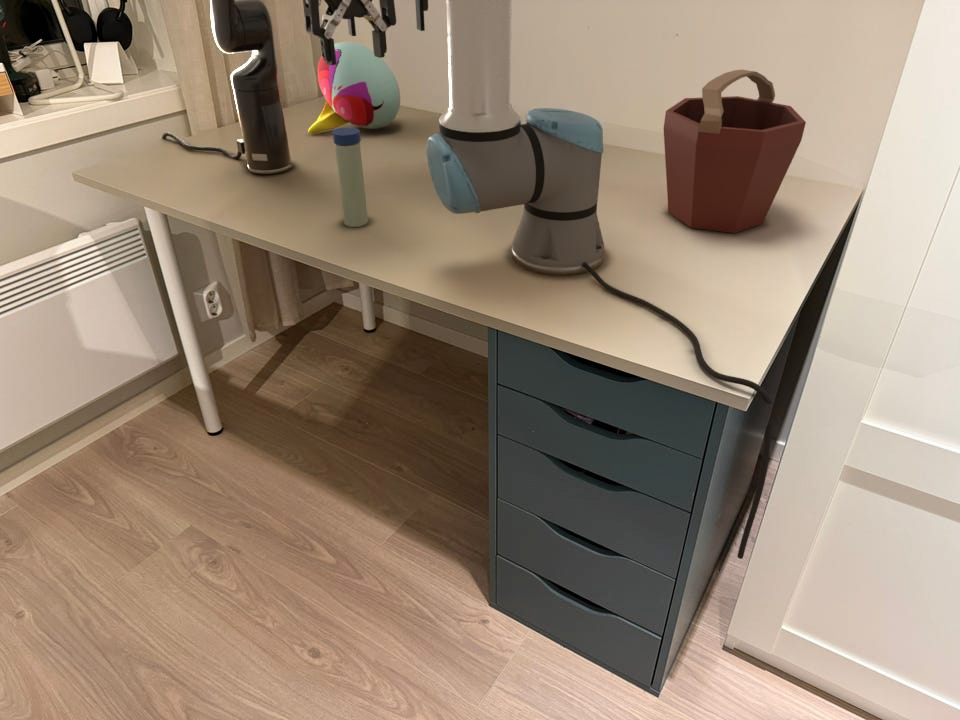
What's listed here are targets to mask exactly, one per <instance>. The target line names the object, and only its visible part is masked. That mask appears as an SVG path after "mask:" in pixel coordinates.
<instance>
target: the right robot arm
mask: <svg viewBox="0 0 960 720" xmlns="http://www.w3.org/2000/svg"><path fill="white" fill-rule="evenodd" d="M414 2H415V22H416V30H418V31H420V32H425V31H426V29H425V27H426V26H425V12H428V10H429V0H414ZM445 5H446V6H445V7H446V37H447V71H448V73H447V74H448V99H449V100H448V101H449V102H448V103H449V104H448V107H447V108H446V110H445V111H444V112H443V113H441V115H440V117H439V119H438V121H439V123H438V124H439V126H438V127H439V133H433V134H432V135H430V136H429V137H428V138H427V141H426V144H427V145H426V159H427V166H428V170H429V174H430V177H431V181H432V184H433V187H434V189H435V192H436V195H437V196H438V199H439V200H440V202H441V204H442V205H443V206H444V207H445V208H446V210H447V211H448V212H449V213H453V214H456V215H462V214H471V213H474V214H480V213H482V212H487V211H493V210H499V209H504V208H505V209H506V208H509V207H515V206H520V205H523V212H522V215H521V218H520V220H519V224H518V226H517V229H516V232H515V234H514V237H513V240H512V245H511V257H512V259H513V261H514V262H515V263H516V264H517V265H519V267H521V268H524V269H526V270H528V271H530V272H532V273H533V272H534V273H537V274H541V275H547V276H558V277H559V276H560V277H561V276H573V275H574V276H575V275H580V274H584V273H589V274H590V275H591V276H592V277H593V278H594V279H595V280H596V281H597V283H598V284H599V285H600V286H602V288H604V289H605V290H607V291H609V292H610V293H612V294H614V295H616V296H618V297H621V298H623V299H626V300H628V301H632V302H634V303H636V304H639V305H640V306H641V305H642V306H643V307H645V308H647V309H649V310H651V311H653V312H655V313H656V314H658V315H659V316H662V317H663V318H665V319H667V320H668V321H670V322H671V323H673V324H674V325H676V326H677V327H678V328H679V329H680V330H682V332H684V333H685V334H686V336H687V337H689V339H690V341H691V342H692V345H693V347H694V352H695V357H696V360H697V362H698V365H699V366H700V368H702V370H704V372H706V373H707V374H708V375H709V376H711V377H712V378H714V379H717V380H719V381H722V382H725V383H731V384H737V385H740V386H744V387H748V388H749V389H752V390H754V391H755V392H757V393H758V394H759V396H761V398H762V399H763V401H764V402H765V403H766V404H768V405H772V404H774V403H773V400H772V398H771V396H770V395H769V393H768V392H767V391H766V390H765V389H764V388H763V387H762V386H761V385H759V383H756V382H754V381H752V380H749V379H746V378H743V377H742V378H741V377H737V376H732V375H727V374H723V373H720V372H719V371H716V370H714V369H713V368H712V367H711V366H710V365H708V363H707V361H706V360H705V358H704V355H703V353H702V348H701V344H700V341H699V339H698V338H697V336H696V334H695V333H694V332H693V331H692V330H691V329H690V327H688V326H687V325H685V324H684V323H683V322H682V321H681V320H679V319H678V318H676V317H675V316H673V315H671V314H670V313H668V312H667V311H666V310H663V309H662V308H660V307H658V306H656V305H654V304H653V303H651V302H649V301H647V300H645V299H642V298H640V297H637V296H636V295H632V294H629V293H627V292H624V291H621V290H619V289H617V288H615V287H613V286H612V285H610V284H608V282H606V281H604V279H603V278H602V277H601V276H600V275H599V274H598V273H597V271H596V270H595V269H596V268H598V267H599V266H600V265H601V264H602V263H603V261H604V258H605V242H604V239H603V233H602V230H601V226H600V222H599V218H598V213H597V212H598V199H599V188H600V179H601V178H600V177H601V167H602V159H603V156H602V155H603V154H604V129H603V126H602V124H601V123H600V121H598V119H596V118H595V117H592V116H590V115H589V114H585V113H582V112H578V111H574V110H568V109H563V108H562V109H561V108H553V107H552V108H551V107H548V108H547V107H538V108H534V109H531V110H529V111H528V112H527V113H526V115H525V118H524V119H525V123H523V124H522V123H521V115H519V113H517V112H516V111H515V109H514V108H513V106H512V104H511V82H512V81H511V80H512V79H511V77H512V75H511V73H512V72H511V71H512V17H513V16H512V15H513V14H512V13H513V11H512V10H513V9H512V7H513V0H445ZM346 20H347V28H348V29H347V30H348V35H350V36H351V37H357V31H356V20H355V17H353V18H351V19H346ZM510 104H511V105H510ZM511 106H512V107H511ZM773 428H774V421H773V422H771V423H769V424H767V425H765V429H764V437H763V438H764V439H763V448H762V456H761V465H760V469H759V476H758V481H757V484H756V489H755V492H754V497H753V501H752V503H751V507H750V510H749V513H748V517H747V520H746V523H745V527H744V530H743V533H742V537H741V540H740V543H739V548H738V552H737V555H736V556H737V559H739V560H742V559H743V558H744V555H745V552H746V548H747V544H748V541H749V537H750V534H751V531H752V527H753V524H754V521H755V518H756V516H757V515H756V514H757V511H758V509H759V505H760V502H761V499H762V495H763V491H764V486H765V483H766V479H767V478H766V477H767V471H768V468H769V467H768V466H769V459H770V454H771V453H770V452H771V445H772V444H771V443H772V434H773Z"/></svg>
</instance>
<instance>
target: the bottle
mask: <svg viewBox="0 0 960 720" xmlns="http://www.w3.org/2000/svg"><path fill="white" fill-rule="evenodd" d="M334 150H335V158H336V165H337V174H338V181H339V189H340V190H339V191H340V198H341V205H342V214H343V221H344V222H343V223H344V225H345V226H346V227H351V228H357V227H363V226H366V225H367V224H368V223H369V217H368V209H367V201H366V200H367V199H366V198H367V197H366V188H365V179H364V169H363V161H362V160H363V159H362V151H361V150H362V149H361V141H360V142H358V143H356V144H352V145H338V144H335V143H334Z"/></svg>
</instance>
